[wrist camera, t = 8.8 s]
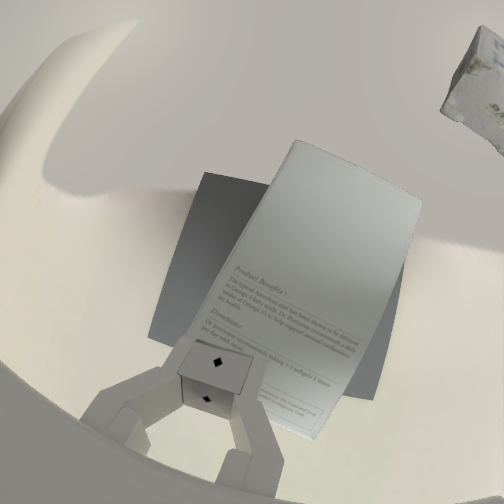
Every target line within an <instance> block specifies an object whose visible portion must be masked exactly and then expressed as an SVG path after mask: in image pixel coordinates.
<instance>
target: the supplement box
mask: <svg viewBox="0 0 504 504" xmlns="http://www.w3.org/2000/svg"><path fill="white" fill-rule="evenodd" d="M422 205H423V201H422V199H420V198H418V197H416V196H414V195H412V194H410V193H409V192H407V191H405V190H403V189H402V188H400V187H398V186H396V185H394V184H392V183H390V182H388V181H386V180H384V179H383V178H381V177H379V176H376V175H375V174H372V173H371V172H369V171H367V170H365V169H363V168H361V167H359V166H356V165H354V164H352V163H350V162H348V161H346V160H344V159H341V158H339V157H337V156H335V155H332V154H330V153H328V152H326V151H324V150H321V149H319V148H317V147H315V146H312V145H310V144H307V143H305V142H303V141H300V140H295V141H294V142H293V144H292V146H291V148H290V150H289V152H288V154H287V156H286V158H285V160H284V162H283V163H282V165H281V167H280V169H279V170H278V172H277V174H276V175H275V177H274V179H273V180H272V182H271V184H270V186H269V187H268V189H267V191H266V193H265V194H264V196H263V198H262V199H261V201H260V203H259V205H258V206H257V208H256V210H255V211H254V213H253V215H252V217H251V218H250V220H249V222H248V223H247V225H246V227H245V228H244V230H243V232H242V234H241V235H240V237H239V239H238V241H237V242H236V244H235V246H234V248H233V250H232V251H231V253H230V255H229V256H228V258H227V260H226V262H225V264H224V265H223V267H222V269H221V271H220V272H219V274H218V276H217V278H216V280H215V281H214V283H213V285H212V287H211V288H210V290H209V292H208V294H207V296H206V298H205V299H204V301H203V303H202V305H201V307H200V309H199V311H198V313H197V315H196V316H195V318H194V320H193V322H192V324H191V326H190V328H189V330H188V331H187V333H186V335H188V336H191V337H194V338H197V339H200V340H203V341H205V342H208V343H211V344H214V345H217V346H220V347H223V348H227V349H231V350H234V351H238V352H241V353H245V354H249V355H252V356H255V357H258V358H262V359H265V360H269V363H268V367H267V370H266V373H265V377H264V380H263V383H262V387H261V390H260V393H259V396H258V399H257V400H258V401H261V402H262V404H263V407H264V409H265V412H266V415H267V417H268V420H269V422H271V423H273V424H276V425H278V426H280V427H282V428H284V429H286V430H289V431H291V432H293V433H295V434H297V435H300V436H302V437H304V438H306V439H309V440H312V441H313V440H314V439H315V438H316V437H317V435H318V434H319V432H320V431H321V429H322V427H323V426H324V424H325V423H326V421H327V420H328V418H329V416H330V415H331V413H332V411H333V410H334V408H335V406H336V404H337V403H338V401H339V399H340V398H341V396H342V394H343V392H344V391H345V389H346V387H347V385H348V383H349V381H350V380H351V378H352V376H353V374H354V372H355V370H356V368H357V367H358V365H359V363H360V361H361V359H362V357H363V355H364V353H365V351H366V349H367V347H368V345H369V343H370V341H371V338H372V336H373V334H374V332H375V330H376V328H377V326H378V323H379V321H380V319H381V317H382V315H383V312H384V310H385V308H386V305H387V303H388V301H389V298H390V296H391V293H392V291H393V288H394V286H395V283H396V281H397V278H398V276H399V273H400V271H401V268H402V265H403V262H404V260H405V257H406V254H407V251H408V249H409V246H410V243H411V240H412V237H413V234H414V231H415V227H416V224H417V221H418V218H419V214H420V211H421V208H422Z"/></svg>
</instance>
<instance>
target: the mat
mask: <svg viewBox="0 0 504 504" xmlns="http://www.w3.org/2000/svg"><path fill="white" fill-rule="evenodd" d="M269 186H270V185H266V184H262V183H257V182H253V181H248V180H243V179H238V178H233V177H228V176H223V175H217V174H213V173H206V172H205V173H204V175H203V177H202V180H201V182H200V185H199V188H198V190H197V193H196V195H195V198H194V200H193V203H192V206H191V208H190V211H189V213H188V216H187V219H186V222H185V224H184V227H183V230H182V232H181V235H180V238H179V241H178V244H177V246H176V249H175V252H174V255H173V258H172V261H171V264H170V267H169V270H168V273H167V276H166V279H165V282H164V285H163V288H162V291H161V294H160V297H159V300H158V304H157V307H156V310H155V313H154V317H153V320H152V323H151V327H150V330H149V334H148V338H150V339H153V340H155V341H158V342H160V343H163V344H166V345H168V346H171V347H174V346H175V345H176V343H177V342H178V340H179V339H180V337H181V336H182V335H183V334H186V333H187V331H188V330H189V328H190V326H191V324H192V322H193V320H194V318H195V316H196V315H197V313H198V311H199V309H200V307H201V305H202V303H203V301H204V299H205V298H206V296H207V294H208V292H209V290H210V288H211V287H212V285H213V283H214V281H215V280H216V278H217V276H218V274H219V272H220V271H221V269H222V267H223V265H224V264H225V262H226V260H227V258H228V256H229V255H230V253H231V251H232V250H233V248H234V246H235V244H236V242H237V241H238V239H239V237H240V235H241V234H242V232H243V230H244V228H245V227H246V225H247V223H248V222H249V220H250V218H251V217H252V215H253V213H254V211H255V210H256V208H257V206H258V205H259V203H260V201H261V199H262V198H263V196H264V194H265V193H266V191H267V189H268V187H269ZM404 261H405V260H404ZM403 268H404V262H403V265H402V268H401V271H400V273H399V276H398V278H397V281H396V283H395V286H394V288H393V291H392V293H391V296H390V298H389V301H388V303H387V305H386V308H385V310H384V312H383V315H382V317H381V319H380V321H379V323H378V326H377V328H376V330H375V332H374V334H373V336H372V338H371V341H370V343H369V345H368V347H367V349H366V351H365V353H364V355H363V357H362V359H361V361H360V363H359V365H358V367H357V368H356V370H355V372H354V374H353V376H352V378H351V380H350V381H349V383H348V385H347V387H346V389H345V391H344V392H343V394H342V395H345V396H350V397H355V398H361V399H367V400H373V399H374V395H375V392H376V389H377V386H378V382H379V379H380V375H381V372H382V368H383V365H384V361H385V357H386V353H387V349H388V345H389V341H390V337H391V332H392V328H393V323H394V319H395V314H396V309H397V303H398V298H399V293H400V287H401V281H402V274H403Z"/></svg>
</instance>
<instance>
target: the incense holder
mask: <svg viewBox="0 0 504 504" xmlns="http://www.w3.org/2000/svg"><path fill="white" fill-rule="evenodd" d="M440 112H441V113H442V114H443V115H445V116H447V117H448V118H450V119H452V120H453V121H456V122H462V123H463V124H464V125H466V126H467V127H469V128H470V129H471V130H473V131H474V132H475V133H477V134H478V135H480V136H482V137H483V138H485V139H486V140H488V141H489V142H491V143H492V145H493V146H495V147H496V149H497V151H498V152H499V153H500V154H501V155H503V156H504V39H503V38H501V37H500V36H499V35H497V34H496V33H494V32H493V31H492V30H491V29H489V28H488V27H486V26H484V25H481V26H479V28H478V30H477V32H476V34H475V36H474V38H473V40H472V42H471V44H470V46H469V49H468V51H467V53H466V54H465V56H464V58H463V60H462V61H461V63H460V65H459V66H458V68H457V70H456V71H455V73H454V75H453V77H452V81H451V85H450V88H449V92H448V95H447V97H446V99H445V101H444V103H443V105H442V108H441V109H440Z"/></svg>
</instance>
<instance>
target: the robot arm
mask: <svg viewBox="0 0 504 504" xmlns="http://www.w3.org/2000/svg"><path fill="white" fill-rule="evenodd" d="M268 363H269V360H265V359H262V358H258V357H255V356H252V355H249V354H245V353H241V352H238V351H234V350H231V349H227V348H223V347H220V346H217V345H214V344H211V343H208V342H205V341H203V340H200V339H197V338H194V337H191V336H188V335H186V334H183V335H182V336H181V337H180V339H179V340H178V342H177V343H176V345H175V346H174V348H173V350H172V351H171V353H170V354H169V356H168V358H167V359H166V361H165V362H164V364H163V366H162V367H158V366H157V367H155V368H152V369H150V370H148V371H146V372H144V373H141V374H139V375H137V376H135V377H132V378H130V379H128V380H125V381H123V382H121V383H118V384H116V385H114V386H111V387H109V388H107V389H104V390H102V391H100V392H99V393H98V395H97V396H96V397H95V399H94V400H93V401H92V403H91V404H90V406H89V407H88V408H87V410H86V411H85V413H84V414H83V416H82V417H81V418H80V420H78V419H77V418H75V417H74V416H72V415H70V414H69V413H67V412H66V411H64V410H63V409H62V408H60V407H59V406H57V405H56V404H54V403H53V402H51V401H50V400H49V399H47V398H46V397H45V396H43V395H42V394H41V393H39V392H38V391H37V390H35V389H34V388H33V387H31V386H30V385H29V384H28V383H26V382H25V381H24V380H23V379H22V378H20V377H19V376H18V375H17V374H16V373H14V372H13V371H12V370H11V369H10V368H9V367H7V366H6V365H5V364H4V363H3V362H2V361H1V360H0V504H303V503H297V502H291V501H285V500H280V499H275V495H276V491H277V487H278V484H279V480H280V476H281V472H282V468H283V464H284V458H283V456H282V453H281V451H280V448H279V446H278V443H277V441H276V438H275V436H274V433H273V430H272V428H271V425H270V423H269V420H268V417H267V415H266V412H265V409H264V407H263V404H262V402H261V401H258V400H257V399H258V396H259V393H260V390H261V387H262V383H263V380H264V377H265V373H266V370H267V367H268ZM183 404H184V405H187V406H190V407H193V408H196V409H199V410H202V411H205V412H208V413H210V414H213V415H216V416H219V417H222V418H225V419H228V420H230V425H231V429H232V433H233V437H234V441H235V445H236V449H231V450H229V451H228V452H227V454H226V457H225V459H224V462H223V464H222V467H221V469H220V472H219V474H218V477H217V479H216V482H215V483H213V482H210V481H207V480H204V479H201V478H198V477H196V476H193V475H190V474H187V473H185V472H182V471H179V470H177V469H174V468H172V467H169V466H167V465H165V464H162V463H160V462H158V461H155V460H153V459H151V458H149V457H146V454H147V452H148V450H149V448H150V446H151V444H150V442H149V439H148V436H147V434H146V431H145V429H146V428H147V427H149V426H151V425H152V424H154V423H156V422H157V421H159V420H161V419H162V418H164V417H165V416H167V415H169V414H170V413H172V412H173V411H175V410H177V409H178V408H180V407H181V406H183ZM456 504H504V498H503V497H502V496H492V497H487V498H483V499H478V500H473V501H468V502H462V503H456Z"/></svg>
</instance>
